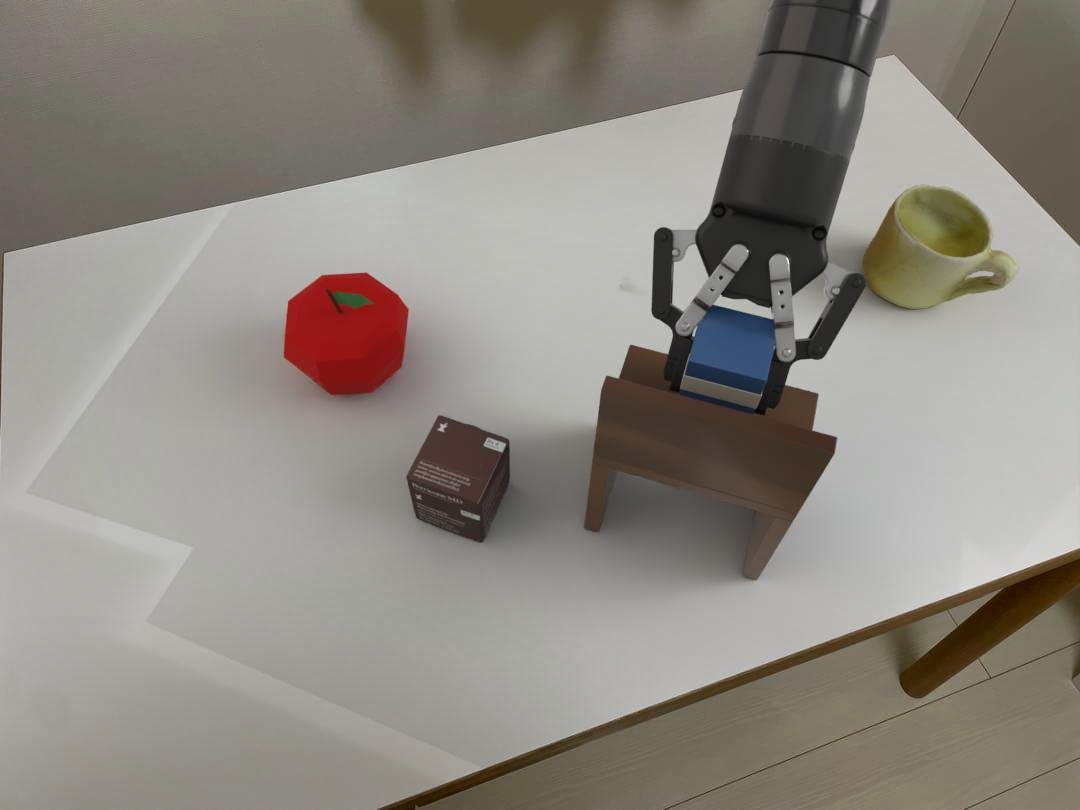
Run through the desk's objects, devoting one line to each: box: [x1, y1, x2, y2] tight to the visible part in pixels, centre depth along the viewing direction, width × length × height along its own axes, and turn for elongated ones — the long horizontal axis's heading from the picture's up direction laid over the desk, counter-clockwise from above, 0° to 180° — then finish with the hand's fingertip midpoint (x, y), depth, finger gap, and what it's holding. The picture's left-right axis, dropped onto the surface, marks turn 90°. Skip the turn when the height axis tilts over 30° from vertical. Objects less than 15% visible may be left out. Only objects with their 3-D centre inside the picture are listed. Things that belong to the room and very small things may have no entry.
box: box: [405, 414, 511, 544], centre depth 66 cm, size 6×6×7 cm
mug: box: [861, 184, 1019, 310], centre depth 79 cm, size 12×10×10 cm
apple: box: [283, 271, 410, 396], centre depth 72 cm, size 11×11×10 cm
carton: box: [679, 304, 775, 414], centre depth 57 cm, size 5×5×7 cm
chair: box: [583, 344, 838, 581], centre depth 61 cm, size 10×14×20 cm
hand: (717, 399), depth 57 cm, fingers closed on carton, 5 cm apart
